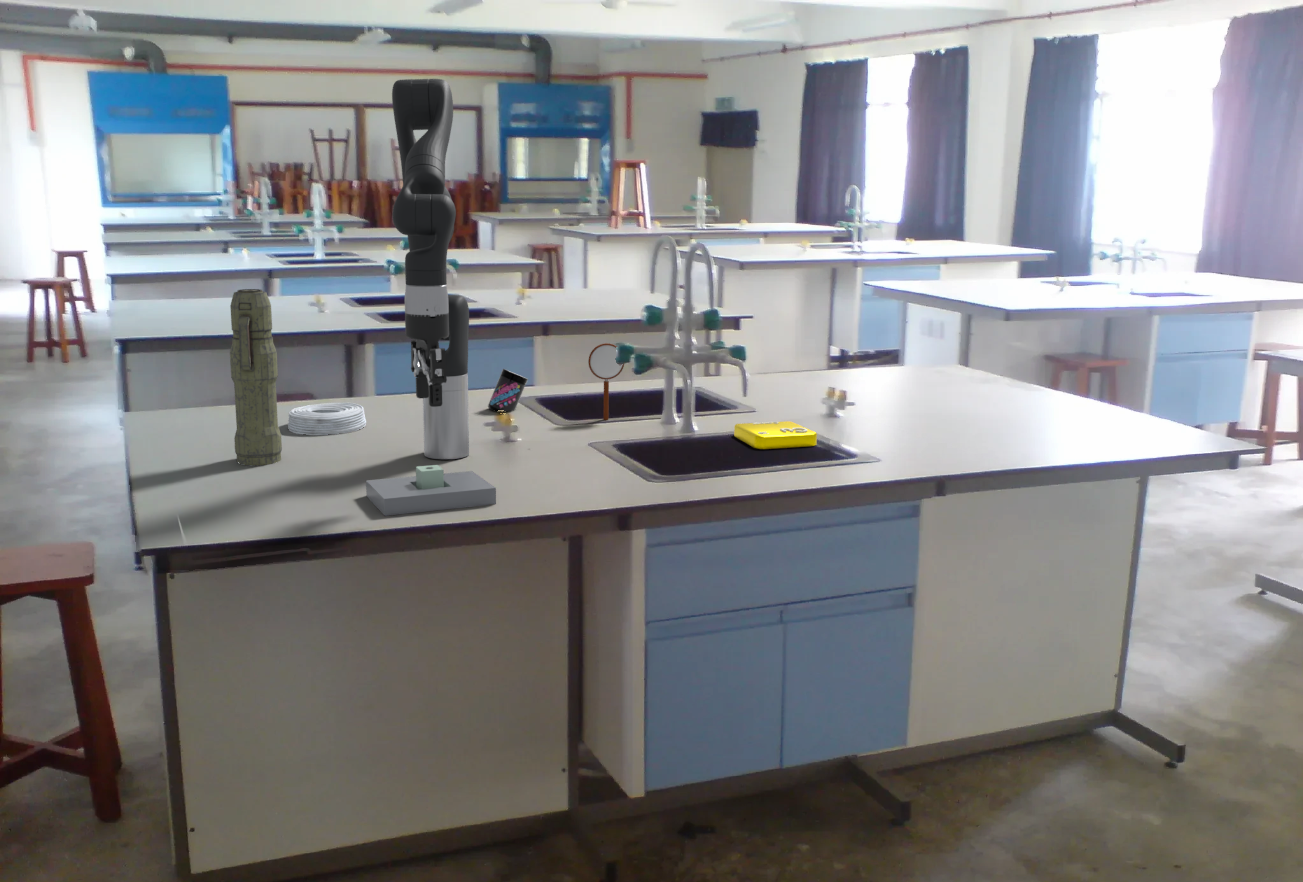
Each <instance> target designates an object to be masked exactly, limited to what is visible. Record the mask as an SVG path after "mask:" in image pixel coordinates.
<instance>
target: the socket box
mask: <svg viewBox="0 0 1303 882" xmlns="http://www.w3.org/2000/svg"><path fill="white" fill-rule="evenodd" d="M365 489H366V490H365V491H366V493H365V494H366V497H367V498H368V499H369V501H370V502H371V503H372V504H373V505H374V506H375V507H376V508H377V509H378V510H379V512H381V513H382V515H383V516H394V515H396V516H397V515H406V514H413V513H415V514H416V513H423V512H424V513H425V512H434V511H444V510H454V509H462V508H472V507H479V506H490V505H489V504H492V505H496V504H497V487H495V485H493V484H491V483H490V482H488V481H487V480H486V479H484V478H483V477H481V476H480V475H479V474H477V473H476V472H474V471H473V470H469V471H458V472H455V471H454V472H445V473H444V487H441V488H430V489H420V490H418V489H417V488H416V475H413V476H412V475H411V476H402V477H401V476H400V477H391V478H389V477H388V478H381V479H380V478H378V479H370V480H369V479H367V480H365Z"/></svg>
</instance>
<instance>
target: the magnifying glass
mask: <svg viewBox="0 0 1303 882" xmlns="http://www.w3.org/2000/svg"><path fill="white" fill-rule="evenodd" d="M616 347H618V346H617V345H615V344H614V343H610V342H609V343H607V342H605V343H601V344H599V345H596V346H595V347H594V348H593V349H592V350H591V352H590V353H589V356H588V368H589V370H590V372H591V373H592V375H594V376H595V377H596V378H598V379H601V380H603V421H609V411H610V410H609V408H610V407H609V405H610V404H609V400H610V398H609V397H610V394H609V393H610V390H609V389H610V388H609V387H610V386H609V385H610V382H609V380H611V379H614V378H616V377H618V376H619V375H620V374H621V372H622V371H623V369H624V367H625V363H624V364H623V365H621V366H619V365H618V364H617V363H616V360H615V358H616Z"/></svg>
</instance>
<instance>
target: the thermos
mask: <svg viewBox="0 0 1303 882" xmlns="http://www.w3.org/2000/svg"><path fill="white" fill-rule="evenodd" d="M267 293H268V292H267V291H263V289H259V288H248V289H247V288H245V289H237V291H234V292H233V294H232V298H231V302H230V306H229V307H230V321H231V330H232V336H231V340H232V341H231V342H232V344H231V347H230V350H229V360H230V378H231V380H232V382H233V386H234V406H235V421H236V431H235V433H234V453H235V454H236V462H239V463H240V464H239V465H241V464H245V465H244V466H246V465H255V466H254V467H258V466H259V467H260V465H261V466H268V465H274V464H277V463H279V462H281V460H282V450H283V445H282V443H283V442H282V434H281V430H280V427H279V424H278V423H279V422H278V404H277V403H278V402H277V401H278V400H277V386H276V385H277V384H276V382H277V380H278V378H279V377H278V376H279V375H278V374H279V372H278V371H279V370H278V353H277V349H276V346H275V344H274V337H273V335H272V330H273V318H272V317H273V316H272V304H271V301H270V299H269V296H268V294H267ZM276 462H277V463H276ZM257 465H258V466H257Z"/></svg>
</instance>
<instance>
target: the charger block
mask: <svg viewBox="0 0 1303 882" xmlns="http://www.w3.org/2000/svg"><path fill="white" fill-rule="evenodd" d="M444 472H445V471H444V469H443V468H442V466H440V465H438V464H432V465H418V466H415V476H416V488H417V489H418V490H420V489H430V488H441V487H444Z"/></svg>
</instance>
